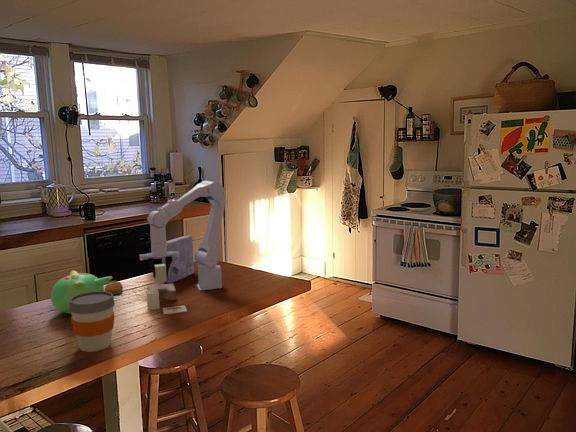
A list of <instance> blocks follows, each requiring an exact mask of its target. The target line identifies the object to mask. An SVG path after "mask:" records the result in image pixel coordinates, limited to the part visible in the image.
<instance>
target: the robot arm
mask: <svg viewBox="0 0 576 432" xmlns="http://www.w3.org/2000/svg"><path fill="white" fill-rule="evenodd" d="M200 197H201V198H202V197H203V198H206V199H207V200H208V202H209V203H210V205H211V206H210V211H209V215H208V218H207V223H206V228H205V230H204V231H205V232H204V236H203V241H202V242H201V243H200V244H199V245H198V248H197V250H196V251H195V253H194V261H195V262H197V275H198V276H197V277H198V283H197V284H196V287H197V289H198V291H206V290H207V291H208V290H216V289H217V288H218V289H223V283H222V282H223V279H222V268H221V265H220V264H219V265H217V264H218V262H219V256H218V255H219V254H218V253H219V249H218V247H217V242H218V237H219V233H220V230H221V229H220V228H221V225H222V221H223V218H224V217H223V216H224V212H225V207H226V203H227V202H226V197H225V188H224V186H223V185H222V184H221V183H220V182H219V181H212V180H211V181H210V180H202V181H201V182H200V183H199V182H198V183H197V184H196V185H195V186H193V188H192V189H190V190H189V191H187V192H186V193H184V194H183V195H182V196H181V197H179V198H178V199H168V200H167V203H165V204H163V206H161V207H160V206H159V207H157V210H153V211H150V213H149V214H148V217H147V218H146V221H147V223H148V224H149V227H150V228H149V229H150V232H149V233H150V247H151V248H150V249H151V252H149V253H148V252H147V253H143V254H140V253H139V260H140V262H141V261H145V260H147V264H148V265H149V267H150V270H151V272H152V276H153V278H154V279H155V278H156V276H155V265H156V264H155V260H156V259H162V258H165V265H166V277H167V276H168V271H169V268H170V265H171V262H172V257H179V252H178V251H171V252H167V244H166V241H167V233H166V232H167V230H166V229H167V228H166V227H167V224H168V222H169V221H170V220H171V219H173V218H175V217H176V216H177V215H179V214H180V213H181V212H182V211H183V208H184V207H185V206H186V205H188V204H189V203H191V202H193V201H195V200H196V199H198V198H200ZM218 289H217V290H218Z"/></svg>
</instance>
